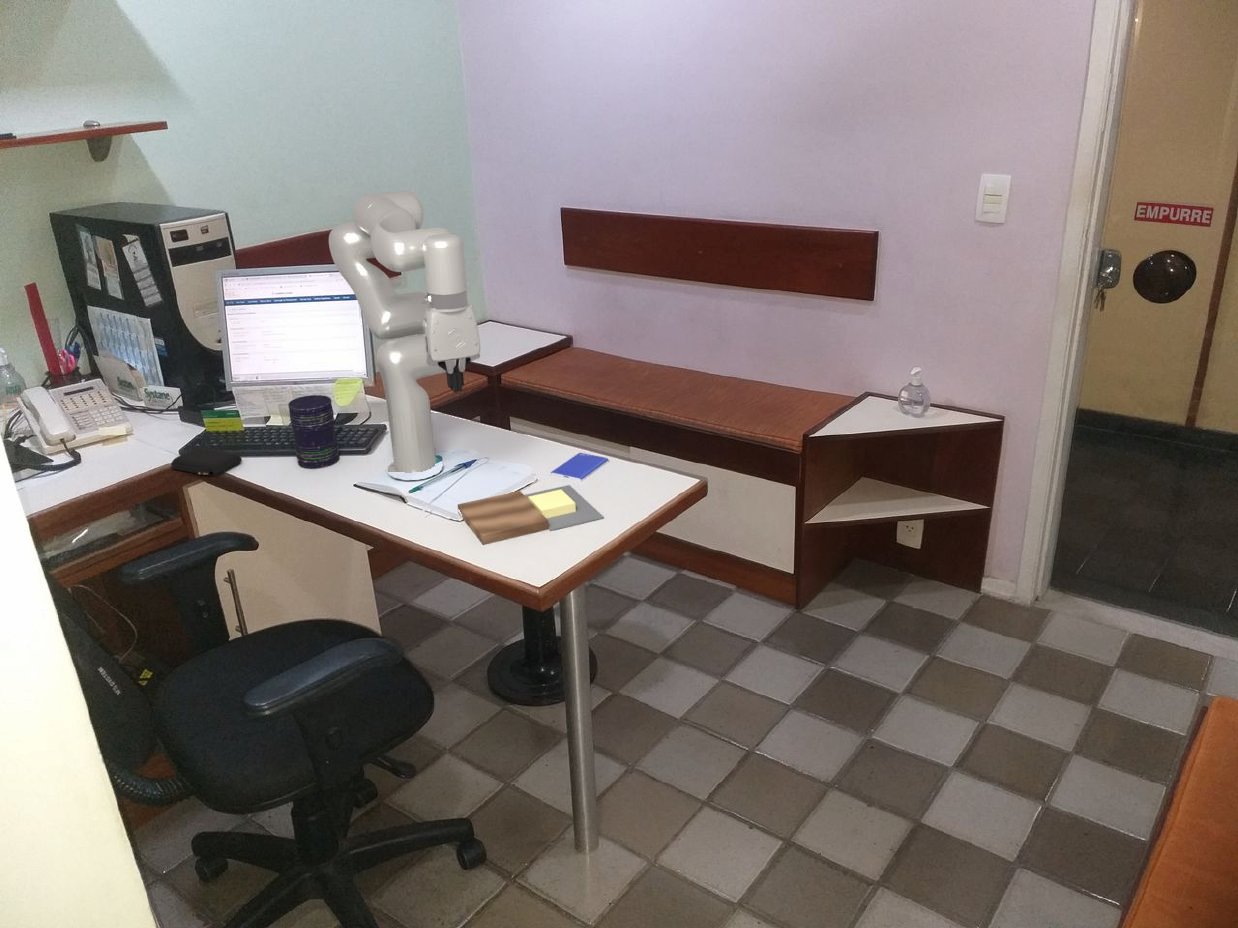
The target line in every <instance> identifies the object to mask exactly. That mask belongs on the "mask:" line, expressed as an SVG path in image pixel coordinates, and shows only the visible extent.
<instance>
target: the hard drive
mask: <svg viewBox="0 0 1238 928" xmlns="http://www.w3.org/2000/svg"><path fill="white" fill-rule="evenodd" d="M608 463H609V458H608V457H606V456H605V457H604V456H599V455H598V456H597V455H594V454H589V453H585V452H584V453H583V452H578V453H577V454H575V455H573V456H572V457H571V458H569V459H568V460H567V461H565V462H564V463H562V464H561V465H559V466H558V467H556V468H555V469H553V470H552V471H550V476H553V477H557V478H561V479H566V480H570V481H576V482H579V483H582V482H583V481H585V480H587V479H588V478H590V476H592V475H593V474H594V473H596V472H597V471H598V470H600V469H601V468H603V467H604V466H606V465H607V464H608Z"/></svg>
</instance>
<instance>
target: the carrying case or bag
mask: <svg viewBox="0 0 1238 928" xmlns="http://www.w3.org/2000/svg"><path fill="white" fill-rule="evenodd" d="M242 460H243V459H242V457H241V456H240V455H239V454H237V453H235V452H234V453H233V452H229V451H222V450H215V449H209V448H205V447H204V448H203V447H195V448H193V449H191V450H188V451H187V452H184V453H183V454H181V455H178V456H177V457H175V458H173V460H172V461H171V464H170V465H171V466H170V467H172V468H173V469H174V470H176V471H181V472H186V473H192V474H197V475H199V476H210V477H211V476H212V477H219V476H221V475H223V474H225V473H227V472H229V471H231V470H232V469H235V468H236V467H238V466H239V465H240V464H241V463H242Z"/></svg>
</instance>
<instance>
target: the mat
mask: <svg viewBox="0 0 1238 928" xmlns="http://www.w3.org/2000/svg"><path fill="white" fill-rule="evenodd" d="M556 490H562V491H563V492H564V493H565V494H566V495H568V496H569V497H570V498H571V499H572V500H573V501H574V502H575V506H576V512H572V513H567V514H563V515H559V516H555V517H550V518H546V519H547V520H548V526H549V529H548V530H549V531H550V532H552V531H558V530H561V529H567V528H569V527H570V528H571V527H574V526H578V525H579V526H580V525H582V524H586V523H590V522H595V521H600V520H603V519H605V516H604V515H602V513H600V512H599V511H598V510H597V509H596V508H595V507H594V506H593V505H592V504H591V503H590V502H589V501H588V500H586V499H585V497H583V496H582V495H581V494H580V493H578V492H577V491H576V490H575V488H573V486H571V485H570V484H567V485H563V486H558V487H554V488H550V489H546V490H545V489H544V490H541V491H536V492H532V493H527V494H524V496H525V497H526V498H527V499H528V497H529V496H533V495H538V494H543V493H547V492H552V491H556Z"/></svg>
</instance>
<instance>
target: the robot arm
mask: <svg viewBox="0 0 1238 928" xmlns="http://www.w3.org/2000/svg"><path fill="white" fill-rule="evenodd" d="M352 217H353V219H354V221H346V222H343V223H341V224H338V225H336V226H335V227H334V228H332V229H331V231H330V232H329V235H328V246H329V251H330V255H331V258H332V260H333V263H334V265H335V267H336V269H337V270H338V272H339V274H340V275H341V277H342V278H343V279H344V280H345V282H346V283H347V284H348V286H349V287H350V288H351V290H352V291H353V293H354V295H355V298H356V300H357V303H358V305H359V307H360V308H359V309H361V313H362V316H363V318H364V320H365V321H366V322H365V323H367V327H368V328H369V330H370V332H371V334H372V335H373V336H374V337H375V338H376V339H378V340H384V341H385V340H387V341H385V342H384V343H382V344H381V345H380V346H379V347H378V348H377V351H376V364H377V368H378V371H379V374H380V377H381V381H382V385H383V389H384V395H385V403H386V410H387V417H388V418H387V419H388V425H389V427H388V428H389V433H390V434H389V435H390V440H391V441H390V443H391V448H392V449H391V450H392V451H391V452H392V457H393V462H391V463H390V464H389V465H388V467H387V473H388V472H405V473H413V472H423V471H426V470H428V469H431V468H432V467H434V466H435V464H436V458H437V457H436V450H435V449H436V448H435V439H434V432H433V421H432V411H431V403H430V398H429V394H428V393H427V391H426V390H425V389H424V388H423V387H422V386H421V385H419V383H417V380H419V379H424V378H427V377H431V376H436V375H440V374H441V375H442V374H446V383H447V387H448V388H449V389H450V390H451V391H452V392H453V393H458V392H463V387H464V386H465V377H464V372H465V370H466V367H468V365H469V364H470V363H471V362H473V361H475V360H479V359H480V357H481V341H480V340H481V339H480V334H479V328H478V322H477V317H476V313H475V310H474V306H473V305H472V304H471V303H469V302H468V301H469V300H468V290H467V289H468V287H467V278H466V277H467V276H466V262H465V251H464V243H463V239H462V238H461V237H460V236H458V235H457V234H453V233H451V232H450V231H449V230H448V229H447V228H444V227H439V226H437V227H436V226H435V227H428V228H422V226H423V223H424V222H423V221H424V209H423V206H422V203H421V201H420V199H419V198H418V197H417V195H415V194H414V193H413V192H411V191H406V190H400V191H399V190H398V191H391V192H390V191H389V192H382V193H381V192H380V193H372V194H368V195H365V196H362V197H360V199H358V200H357V201H356V203H355V204H354V207H353V210H352ZM374 258H375V259H376V261H377V262H378V264H379V263H380V265H382V266H384V267H385V268H386V269H387V270H390V271H392V272H394V273H395V272H396V273H404V272H410V271H416V270H422V269H424V271H425V281H426V283H425V284H426V289H427V290H426V292H423V291H412V292H405V293H398V292H397V291H396V290H395V289H394V287H393V284H392V281H391V279H390V277H389V276H388V275H387V274H386V273H385V272H384V271H382V270H381V269H380V268H379V267H377V266H376V265H374V264H372V263H371V262H370V261H368V260H367V259H374Z"/></svg>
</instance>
